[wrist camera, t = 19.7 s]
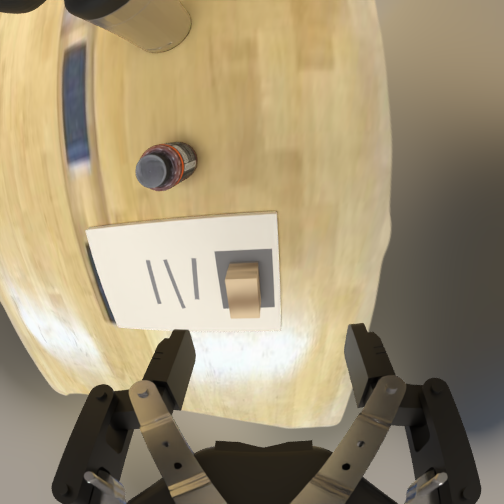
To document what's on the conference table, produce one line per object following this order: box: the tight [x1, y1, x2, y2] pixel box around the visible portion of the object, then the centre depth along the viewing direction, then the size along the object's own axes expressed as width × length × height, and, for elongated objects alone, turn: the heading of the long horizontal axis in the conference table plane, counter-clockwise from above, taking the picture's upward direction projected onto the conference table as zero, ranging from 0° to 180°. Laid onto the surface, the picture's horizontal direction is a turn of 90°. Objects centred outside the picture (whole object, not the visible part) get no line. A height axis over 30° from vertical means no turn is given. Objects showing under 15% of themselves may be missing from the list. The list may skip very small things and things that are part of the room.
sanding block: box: [225, 261, 261, 319], centre depth 42 cm, size 7×4×6 cm, turn 4°
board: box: [85, 211, 281, 332], centre depth 46 cm, size 22×34×2 cm, turn 94°
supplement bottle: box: [136, 142, 197, 191], centre depth 34 cm, size 6×6×11 cm
